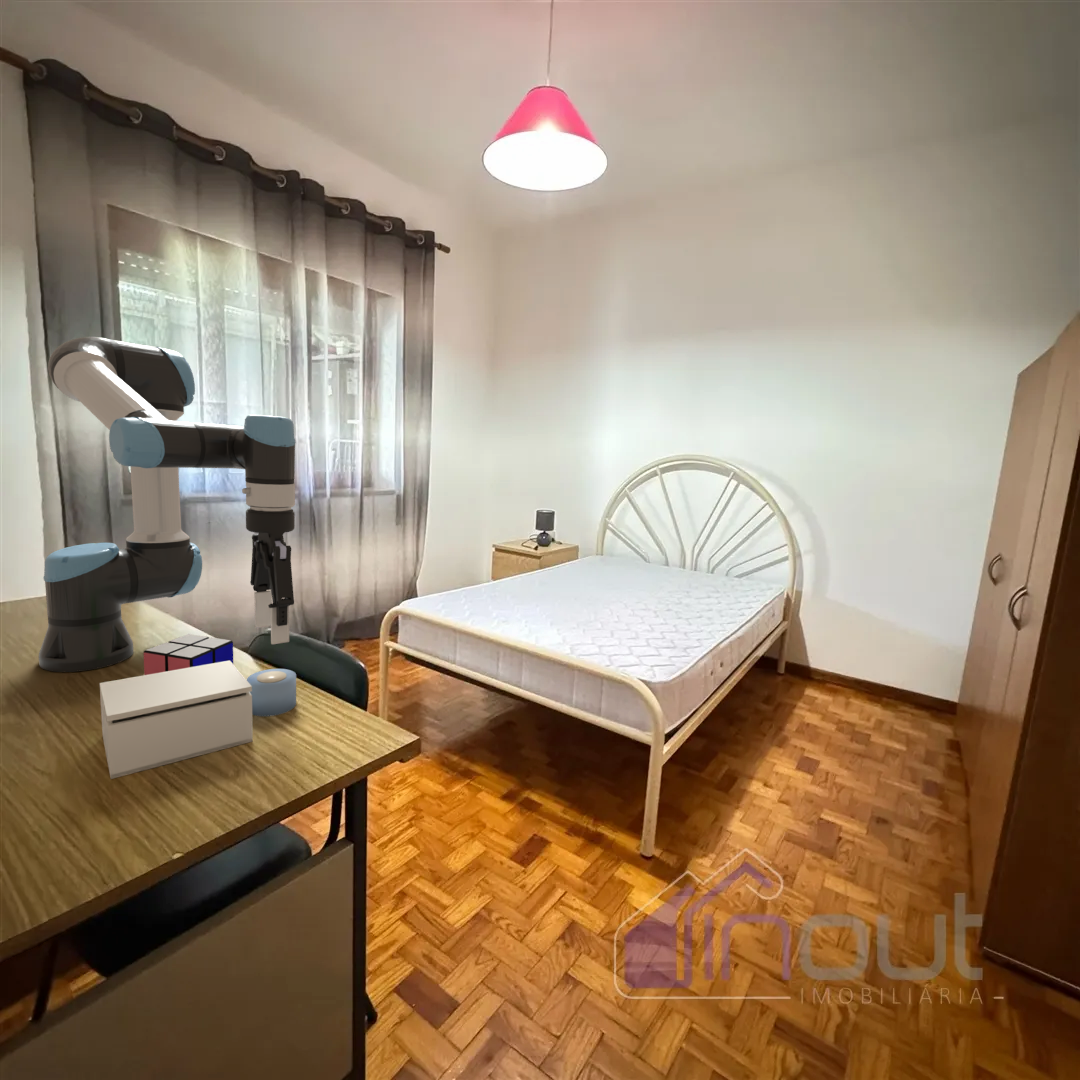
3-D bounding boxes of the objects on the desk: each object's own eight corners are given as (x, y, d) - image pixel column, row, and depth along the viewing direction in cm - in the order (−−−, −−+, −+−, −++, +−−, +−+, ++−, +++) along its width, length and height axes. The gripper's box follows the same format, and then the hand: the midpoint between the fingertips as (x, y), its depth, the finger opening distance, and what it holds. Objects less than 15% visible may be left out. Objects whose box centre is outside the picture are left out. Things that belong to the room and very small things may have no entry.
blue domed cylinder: (241, 703, 101) (241, 673, 100) (288, 692, 107) (288, 664, 106) (254, 721, 95) (253, 689, 95) (302, 709, 101) (302, 679, 100)
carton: (102, 736, 88) (99, 689, 86) (230, 707, 99) (230, 665, 98) (110, 779, 77) (107, 726, 76) (252, 741, 89) (252, 695, 88)
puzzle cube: (193, 713, 97) (191, 658, 95) (144, 704, 98) (141, 650, 97) (235, 690, 106) (234, 639, 105) (189, 682, 108) (188, 633, 107)
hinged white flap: (99, 688, 86) (99, 683, 86) (230, 664, 98) (229, 660, 98) (107, 721, 76) (106, 716, 76) (251, 691, 88) (251, 686, 88)
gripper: (230, 500, 101) (232, 620, 104) (265, 517, 85) (266, 657, 88) (274, 500, 106) (275, 614, 109) (315, 515, 90) (315, 649, 93)
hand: (271, 634), depth 99 cm, fingers open, 9 cm apart
